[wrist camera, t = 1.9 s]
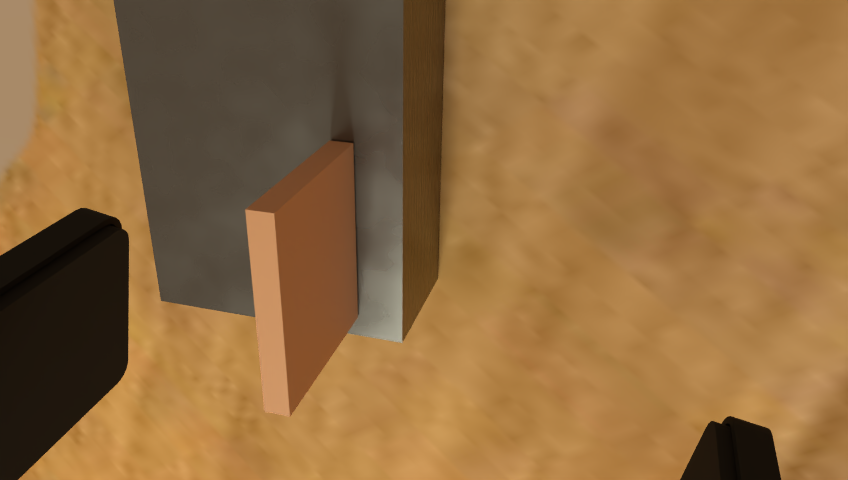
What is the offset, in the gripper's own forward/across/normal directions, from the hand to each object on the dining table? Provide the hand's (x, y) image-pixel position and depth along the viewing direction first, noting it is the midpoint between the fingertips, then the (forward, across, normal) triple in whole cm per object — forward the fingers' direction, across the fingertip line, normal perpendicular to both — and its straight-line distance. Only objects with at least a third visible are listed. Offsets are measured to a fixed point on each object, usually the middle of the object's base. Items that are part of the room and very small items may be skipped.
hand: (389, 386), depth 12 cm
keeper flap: (+14, +7, +8) cm, 18 cm away
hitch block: (+24, +11, +2) cm, 26 cm away
